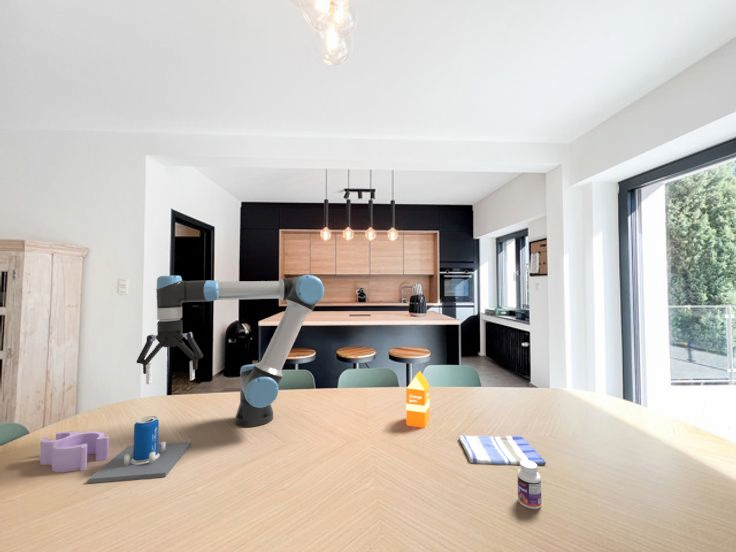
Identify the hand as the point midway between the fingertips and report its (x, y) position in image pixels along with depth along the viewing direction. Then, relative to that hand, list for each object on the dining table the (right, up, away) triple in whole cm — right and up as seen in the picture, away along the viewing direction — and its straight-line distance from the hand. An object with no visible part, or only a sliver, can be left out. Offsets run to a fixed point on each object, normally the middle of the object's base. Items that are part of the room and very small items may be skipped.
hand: (171, 381), depth 114 cm
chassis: (-2, -22, -10) cm, 25 cm away
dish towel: (+112, -23, -4) cm, 115 cm away
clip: (-27, -23, -9) cm, 36 cm away
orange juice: (+89, -24, +21) cm, 95 cm away
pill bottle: (+109, -21, -30) cm, 116 cm away
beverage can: (-2, -21, -10) cm, 24 cm away
